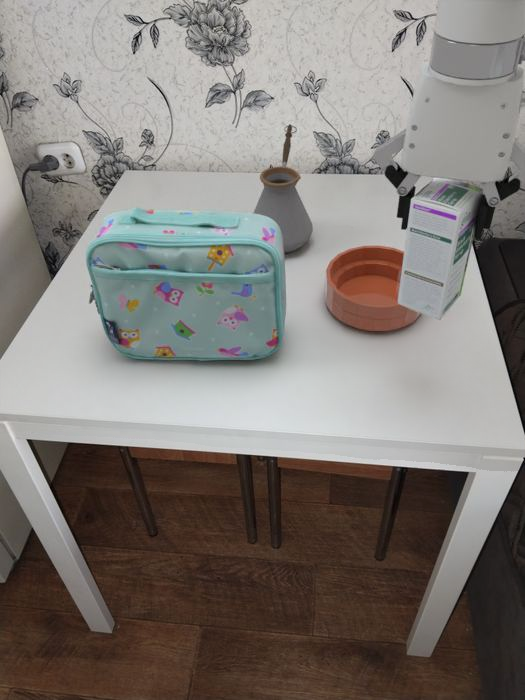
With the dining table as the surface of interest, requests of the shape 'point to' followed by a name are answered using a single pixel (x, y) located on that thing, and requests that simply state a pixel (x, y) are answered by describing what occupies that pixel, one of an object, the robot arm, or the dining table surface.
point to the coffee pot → (285, 201)
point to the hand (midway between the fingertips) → (441, 226)
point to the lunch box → (189, 284)
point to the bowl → (367, 288)
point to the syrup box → (438, 245)
